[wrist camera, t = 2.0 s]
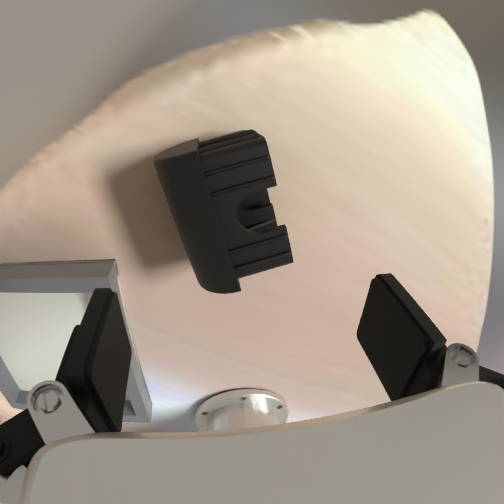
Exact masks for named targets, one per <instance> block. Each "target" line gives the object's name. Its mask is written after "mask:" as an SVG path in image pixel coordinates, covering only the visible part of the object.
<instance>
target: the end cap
mask: <svg viewBox="0 0 504 504" xmlns="http://www.w3.org/2000/svg"><path fill="white" fill-rule="evenodd" d="M154 164H155V167H156V170H157V173H158V176H159V179H160V181H161V184H162V187H163V190H164V193H165V196H166V198H167V201H168V204H169V207H170V209H171V212H172V215H173V218H174V220H175V223H176V226H177V228H178V231H179V234H180V236H181V239H182V242H183V244H184V247H185V249H186V252H187V255H188V257H189V260H190V262H191V265H192V267H193V270H194V272H195V275H196V277H197V280H198V282H199V284H200V285H201V287H203V288H204V289H205V290H207V291H210V292H213V293H222V294H226V293H235V292H239V291H241V288H240V283H239V278H242V277H245V276H249V275H252V274H256V273H259V272H262V271H266V270H269V269H273V268H276V267H279V266H283V265H286V264H290V263H293V257H292V252H291V247H290V242H289V238H288V233H287V228H286V226H285V224H284V225H281V226H277V222H276V218H275V214H274V209H273V205H272V203H270V200H269V196H268V192H267V188H270V187H274V186H277V184H276V179H275V175H274V171H273V167H272V162H271V158H270V154H269V150H268V146H267V143H266V140H265V138H264V137H263V136H262V135H260V134H258V133H257V132H256V131H254V130H252V129H251V130H243V131H239V132H235V133H232V134H228V135H224V136H221V137H217V138H214V139H210V140H207V141H204V142H201V143H199V139H198V138H197V139H194V140H191V141H188V142H185V143H182V144H180V145H177V146H175V147H172V148H170V149H168V150H166V151H164V152H162V153H161V154H159V155H158V156H157V157H156V158H155V160H154Z"/></svg>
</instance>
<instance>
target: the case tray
mask: <svg viewBox="0 0 504 504" xmlns="http://www.w3.org/2000/svg"><path fill="white" fill-rule="evenodd" d="M95 288H111V289H112V292H117V295H118V299H119V303H120V307H121V311H122V315H123V319H124V323H125V327H126V330H127V334H128V338H129V341H130V345H131V350H132V357H131V363H130V369H129V376H128V382H127V389H126V396H125V404H124V411H123V420H122V422H148V423H151V412H152V402H151V399H150V396H149V393H148V390H147V386H146V383H145V380H144V377H143V373H142V370H141V366H140V363H139V359H138V356H137V352H136V348H135V345H134V341H133V337H132V333H131V329H130V325H129V321H128V317H127V312H126V308H125V303H124V299H123V294H122V290H121V285H120V280H119V275H118V269H117V264H116V259H108V260H80V261H53V262H24V263H0V390H1V392H2V393H3V395H4V396H5V398H6V399H7V401H8V402H9V403H10V405H11V406H12V407H13V408H17V409H22V410H25V409H27V408H28V407H27V396H28V394H29V392H30V390H31V389H32V388H33V387H34V386H35V385H37V384H38V383H40V382H43V381H47V380H53V381H55V378H56V375H57V372H58V369H59V366H60V364H61V361H62V358H63V355H64V352H65V350H66V347H67V344H68V342H69V339H70V336H71V334H72V331H73V329H74V327H75V326H76V325H80V324H81V321H82V318H83V316H84V313H85V311H86V308H87V306H88V303H89V301H90V299H91V296H92V294H93V291H94V289H95Z"/></svg>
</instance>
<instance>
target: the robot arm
mask: <svg viewBox="0 0 504 504" xmlns="http://www.w3.org/2000/svg"><path fill="white" fill-rule="evenodd" d="M357 338H358V341H359V342H360V344H361V346H362V348H363V350H364V351H365V353H366V355H367V357H368V359H369V360H370V362H371V364H372V366H373V368H374V370H375V371H376V373H377V375H378V377H379V379H380V381H381V383H382V384H383V386H384V388H385V390H386V392H387V394H388V396H389V398H390V399H391V402H388V403H384V404H380V405H376V406H372V407H368V408H364V409H359V410H355V411H351V412H346V413H341V414H336V415H332V416H326V417H321V418H316V419H310V420H304V421H298V422H291V423H285V422H286V421H287V419H288V415H289V411H288V407H287V404H286V402H285V400H284V399H282V398H281V397H280V396H278V395H277V394H275V393H272V392H269V391H265V390H259V389H239V390H233V391H228V392H224V393H221V394H218V395H216V396H213V397H211V398H210V399H208V400H206V401H205V402H204V403H202V404H201V405H200V406H199V407H198V409H197V410H196V413H195V425H196V428H197V429H198V432H120V431H121V428H122V420H123V411H124V404H125V396H126V389H127V382H128V376H129V369H130V363H131V357H132V350H131V345H130V341H129V338H128V334H127V330H126V327H125V323H124V319H123V315H122V311H121V307H120V303H119V299H118V295H117V292H112V289H111V288H95V289H94V291H93V294H92V296H91V299H90V301H89V303H88V306H87V308H86V311H85V313H84V316H83V318H82V321H81V324H80V325H76V326H75V327H74V329H73V331H72V334H71V336H70V339H69V342H68V344H67V347H66V350H65V352H64V355H63V358H62V361H61V364H60V366H59V369H58V372H57V375H56V378H55V381H53V380H47V381H43V382H40V383H38V384H37V385H35V386H34V387H33V388H32V389H31V390H30V392H29V394H28V396H27V407H28V408H27V409H25V410H24V411H22V412H21V413H19V414H17V415H16V416H14V417H12V418H11V419H9V420H8V421H6V422H4V423H3V424H1V425H0V504H504V375H503V374H500V373H497V372H495V371H492V370H490V369H487V368H484V367H482V366H479V359H478V356H477V354H476V353H475V352H474V351H473V349H471V348H470V347H468V346H466V345H464V344H460V343H454V344H451V345H449V346H448V347H446V345H445V343H446V341H447V340H446V338H445V337H444V336H443V334H442V333H441V332H440V331H439V329H438V328H437V327H436V326H435V324H434V323H433V322H432V321H431V319H430V318H429V317H428V316H427V315H426V313H425V312H424V311H423V310H422V309H421V307H420V306H419V305H418V304H417V303H416V301H415V300H414V299H413V298H412V297H411V295H410V294H409V293H408V292H407V291H406V290H405V288H404V287H403V286H402V285H401V284H400V283H399V282H398V280H397V279H396V278H395V277H394V276H393V275H392V274H390V273H389V274H378V275H376V277H375V278H374V279H372V281H371V284H370V288H369V292H368V295H367V299H366V302H365V306H364V309H363V313H362V316H361V319H360V323H359V326H358V329H357Z"/></svg>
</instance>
